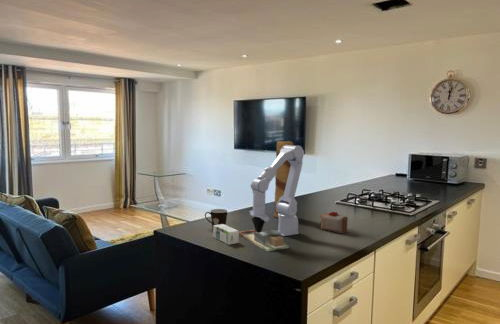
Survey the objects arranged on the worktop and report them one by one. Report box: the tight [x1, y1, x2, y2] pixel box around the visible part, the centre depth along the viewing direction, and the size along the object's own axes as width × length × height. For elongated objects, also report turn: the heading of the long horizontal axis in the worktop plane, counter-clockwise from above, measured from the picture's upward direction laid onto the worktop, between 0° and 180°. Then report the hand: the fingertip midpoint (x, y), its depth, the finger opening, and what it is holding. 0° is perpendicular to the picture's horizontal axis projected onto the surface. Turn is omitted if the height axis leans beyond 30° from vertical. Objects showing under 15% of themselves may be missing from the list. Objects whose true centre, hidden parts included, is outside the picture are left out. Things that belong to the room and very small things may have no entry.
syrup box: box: [212, 224, 240, 245], centre depth 167 cm, size 6×6×14 cm
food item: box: [320, 211, 349, 234], centre depth 186 cm, size 14×8×10 cm, turn 50°
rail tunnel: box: [239, 229, 290, 252], centre depth 167 cm, size 11×28×6 cm, turn 29°
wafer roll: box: [273, 140, 295, 219], centre depth 212 cm, size 10×11×45 cm
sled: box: [264, 230, 285, 249], centre depth 159 cm, size 5×12×4 cm, turn 29°
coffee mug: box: [204, 208, 229, 230], centre depth 184 cm, size 12×9×10 cm
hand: (258, 232), depth 169 cm, fingers closed
